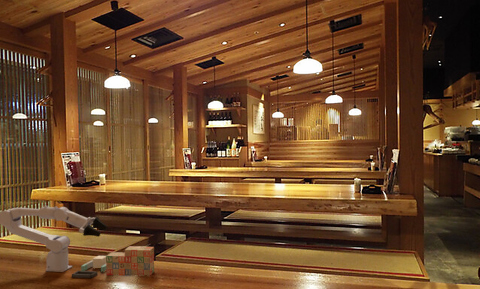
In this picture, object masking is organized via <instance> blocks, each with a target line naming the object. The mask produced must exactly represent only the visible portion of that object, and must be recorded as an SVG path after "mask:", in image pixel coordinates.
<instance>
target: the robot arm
mask: <svg viewBox="0 0 480 289" xmlns="http://www.w3.org/2000/svg"><path fill="white" fill-rule="evenodd" d="M24 216H26V217H31V216H32V217H33V216H35V217H36V216H37V217H39V218H40V219H41V220H42V219H43V220H44V219H47V220H55V221H56V222H59V221H62V222H65V223H67V224H69V225H72V226H74V227H75V228H79V230H78V233H80V234H82V236H83V237H86V236H92V237H93V236H94V237H100V236H101V234H102V233H101V231H99V230H103V231H106V230H107V228H108V226H107V224H105V223H104V222H103V221H101V219H100V218H99V217H98V216H96V217H91V216H89V217H86V216H84V215H80V214H78V213H76V212H74V211H71V210H69V209H68V207H65V206H60V207H58V206H54V207H53V206H51V207H50V206H49V205H44V206H42V207H40V208H30V207H29V208H28V207H12V208H9V209H6V210H2V211H0V225H1V226H3V227H4V228H5V229H6V230H7V231H8V232H9V233H10V234H12V235H15V236H18V237H20V238H23V239H27V240H30V241H32V242H35V243H38V244H41V245H45V248H46V249H48V250H50V251H49V252H48V253H47V255H46V260H45V261H46V269H45V272H58V273H59V272H60V273H63V272H65V271H67V270H69V269H71V268H72V267H73V265H69V248H68V247H69V246H70V244H71V239H70V238H69V236H68V235H58V234H49V233H47V232H43V231H41V230H38V229H35V228H32V227H30V226H26V225H23V224H22V217H24ZM91 225H92V226H91ZM97 229H99V230H97Z"/></svg>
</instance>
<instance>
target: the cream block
mask: <svg viewBox="0 0 480 289" xmlns="http://www.w3.org/2000/svg"><path fill="white" fill-rule="evenodd" d="M106 256H107V255H96V256H95V257H93V258H92V260H93V266H92V269H95V268H101V266H103V265H105V264H106Z"/></svg>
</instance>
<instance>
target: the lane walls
mask: <svg viewBox="0 0 480 289" xmlns="http://www.w3.org/2000/svg"><path fill="white" fill-rule="evenodd" d="M90 268H93V259H91V260H90V261H88V262H86V263H84V264H82V265H81V266H80V271H88V269H90ZM105 270H106V264H105V265H103V266H101V269H100V273H105V272H106V271H105ZM102 271H103V272H102ZM104 271H105V272H104Z"/></svg>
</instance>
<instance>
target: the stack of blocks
mask: <svg viewBox="0 0 480 289" xmlns="http://www.w3.org/2000/svg"><path fill="white" fill-rule="evenodd" d="M105 256H106V271H105V272H106V276H121V277H122V276H123V277H124V276H129V277H131V276H132V277H133V276H134V277H136V276H135V275H138V276H137V277H140V276H139V275H147V276H146V277H150V275H151V276H152V275H153V274H154V273H155V247H154V246H144V245H142V246H138V245H137V246H134V245H133V246H128V247H126V248H125V249H124V252H120V251H119V252H117V251H116V252H114V251H113V252H109V253H108V254H107V255H105Z"/></svg>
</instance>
